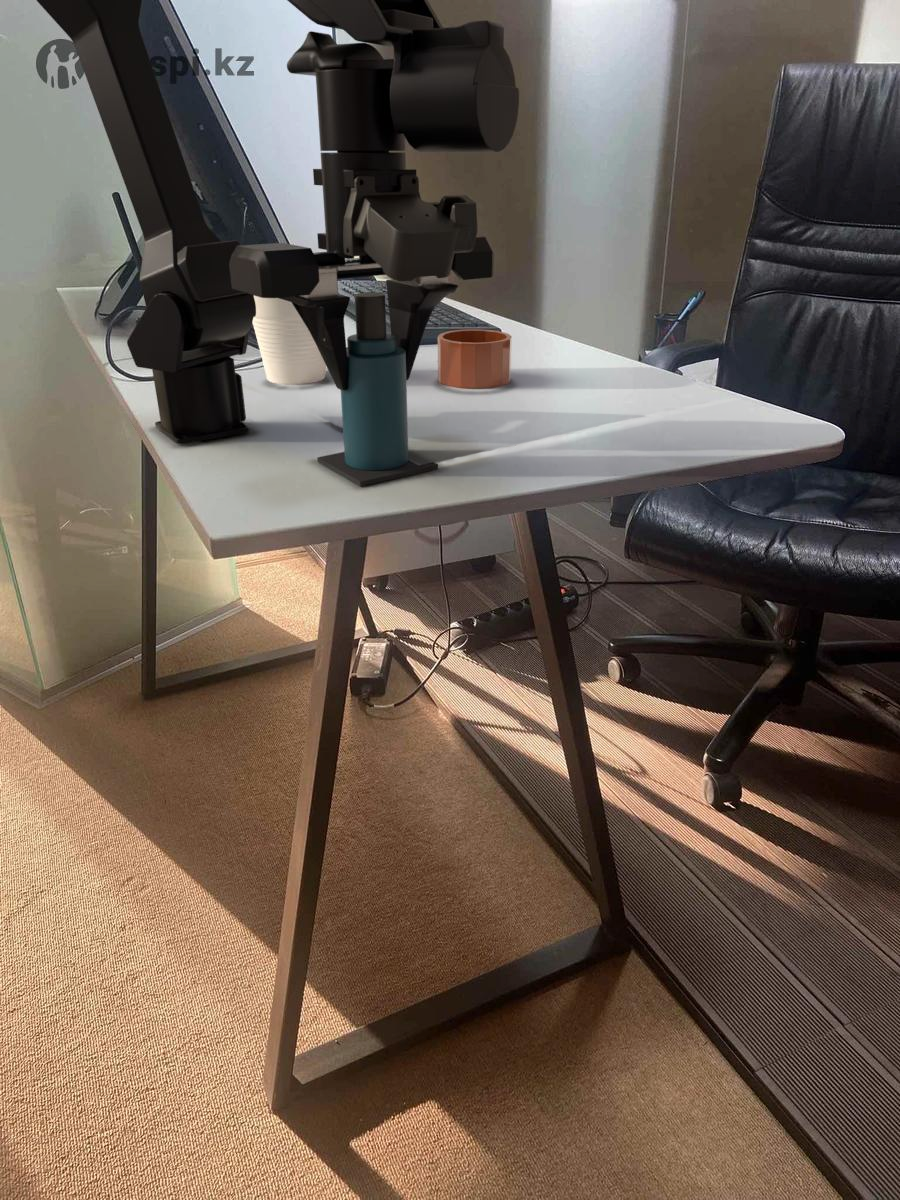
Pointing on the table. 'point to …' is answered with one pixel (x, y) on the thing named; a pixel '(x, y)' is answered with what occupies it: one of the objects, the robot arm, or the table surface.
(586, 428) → the table surface
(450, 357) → the holder
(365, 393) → the bottle
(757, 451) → the table surface
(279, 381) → the cup
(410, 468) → the coaster
